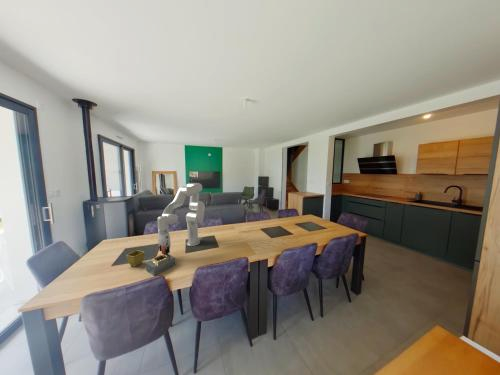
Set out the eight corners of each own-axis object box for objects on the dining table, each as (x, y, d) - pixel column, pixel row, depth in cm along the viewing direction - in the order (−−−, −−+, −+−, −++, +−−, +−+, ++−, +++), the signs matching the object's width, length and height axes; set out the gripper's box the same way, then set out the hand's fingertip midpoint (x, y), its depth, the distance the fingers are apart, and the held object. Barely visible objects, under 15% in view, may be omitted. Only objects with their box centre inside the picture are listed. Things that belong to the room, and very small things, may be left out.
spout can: (166, 256, 142) (165, 238, 140) (169, 258, 139) (168, 240, 138) (161, 258, 138) (159, 240, 136) (164, 260, 135) (162, 242, 134)
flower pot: (138, 260, 136) (137, 249, 135) (145, 262, 133) (144, 251, 132) (126, 266, 128) (125, 255, 127) (134, 268, 125) (133, 257, 124)
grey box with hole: (166, 260, 136) (166, 251, 135) (175, 264, 129) (174, 255, 128) (145, 270, 122) (144, 260, 122) (154, 275, 116) (153, 265, 115)
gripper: (174, 231, 134) (175, 252, 136) (161, 228, 144) (163, 247, 145) (165, 234, 128) (166, 256, 129) (152, 230, 137) (154, 251, 139)
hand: (164, 251), depth 137 cm, fingers open, 8 cm apart
